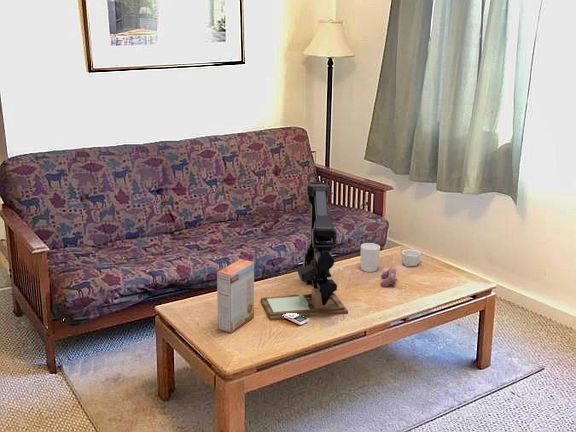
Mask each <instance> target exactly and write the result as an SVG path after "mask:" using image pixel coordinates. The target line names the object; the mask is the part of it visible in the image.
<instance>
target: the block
mask: <svg viewBox="0 0 576 432" xmlns="http://www.w3.org/2000/svg"><path fill="white" fill-rule="evenodd" d="M311 294H312V301H311V303H312V305H313V306H314V308H315V309H319V308H329V300H328V301H327V303H326V305H322V299H321V293H320V292H319V291H318V289H314V288H312V289H311Z"/></svg>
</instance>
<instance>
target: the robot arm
mask: <svg viewBox="0 0 576 432" xmlns="http://www.w3.org/2000/svg"><path fill="white" fill-rule="evenodd" d="M305 195H306V196H307V197H306V198H307V200H308V202H309V203H310V231H309V232H310V234H309V235H310V236H309V237H310V238H309V239H310V240H309V243H308V245H307V246H306V247H305V253H303V257H302V258H303V259H302V265H303V266H302V267H300V268H298V269H297V270H296V271H297V274H298V278H299V279H300V281H301V282H305V283H306V284H307V285H313V289H318V291H319V292H320V293H321V299H322V305H326V303H327V301H328V300H329V298H330V296H331V295H332V293H335V292H336V291H338V285H337V283H336V282H335V281H334V280H333V279H332V278H331V277H332V274H331V273H330V272H331V271H330V270H331V269H332V268H333V267H334V264H335V259H334V256H333V254H332V249H335V248H336V245H337V241H338V240H337V232H336V229H335V227H333V222H332V221H331V219H330V218H329V213H328V201H327V199H328V197H329V196H330V185H328V184H326V182H321V181H320V182H317V181H314V182H313V181H309V182H308V184H305ZM330 278H331V279H330Z"/></svg>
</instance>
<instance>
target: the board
mask: <svg viewBox="0 0 576 432" xmlns="http://www.w3.org/2000/svg"><path fill="white" fill-rule="evenodd" d="M302 294H303V293H302ZM297 296H299V294H293V295H292V294H291V295H281V296H280V295H279V296H268V297H267V296H266V297H261V298H260V302H261V304H262V306H263V308H264V310H265V312H266V315H267V316H268V318H269V321H280V320H281V319H282V320H285V319H284V316H282V315H283V314H286V313H297V314H299V315H301V316H304V317H305V318H314V317H315V318H316V317H326V316H336V315H337V316H339V315H348V314H349V311H348V309H347V308H346V306H345V305H344V303H343V302H342V301H341V300H340V298H339V297H338V296H337V294H336V293H335V292H333V293H332V295H331V296H330V298H329V308H319V309H315V308H314V306H313V305H312V303H311V301H312V293H305V294H303V296H304V297H305V299H306V300H307V302H308V307H309V309H310V310H298V311H286V312H274V313H273V312H272V310H271V308H270V306H269V304H268V302H267V299H271V298H284V297H297Z"/></svg>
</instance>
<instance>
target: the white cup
mask: <svg viewBox="0 0 576 432" xmlns="http://www.w3.org/2000/svg"><path fill="white" fill-rule="evenodd" d="M380 251H381V246H380V244H377V243H372V242H364V243H362V244H361V245H360V270H362V271H364V272H368V273H373V272H377V271H378V266H379V260H380V253H381V252H380Z"/></svg>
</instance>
